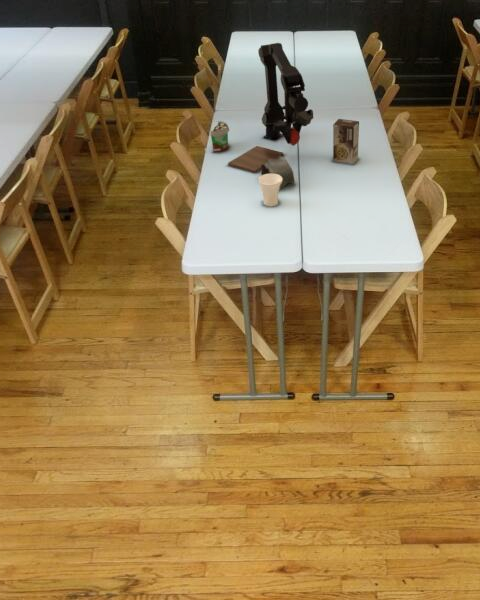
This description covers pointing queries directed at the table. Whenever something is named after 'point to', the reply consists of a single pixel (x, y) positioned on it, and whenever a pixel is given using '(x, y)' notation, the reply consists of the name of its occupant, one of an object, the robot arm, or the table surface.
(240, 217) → the table surface
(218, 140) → the food container
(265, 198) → the cup
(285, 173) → the rock
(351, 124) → the coffee box
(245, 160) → the cutting board
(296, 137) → the red fruit
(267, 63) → the robot arm
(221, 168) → the table surface
